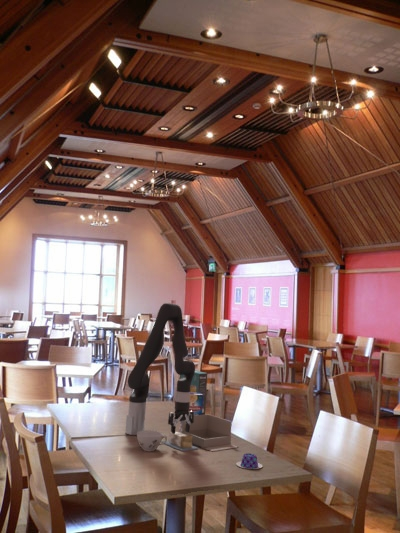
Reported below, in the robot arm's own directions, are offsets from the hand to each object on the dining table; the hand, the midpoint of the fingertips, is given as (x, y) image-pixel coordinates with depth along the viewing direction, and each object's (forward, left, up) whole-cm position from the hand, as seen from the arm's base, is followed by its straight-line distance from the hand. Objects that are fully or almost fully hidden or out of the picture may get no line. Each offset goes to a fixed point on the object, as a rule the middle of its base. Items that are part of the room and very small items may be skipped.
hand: (180, 432), depth 283 cm
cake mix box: (+44, +49, -7) cm, 66 cm away
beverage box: (+21, +19, -7) cm, 30 cm away
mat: (0, 0, -7) cm, 7 cm away
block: (+1, 0, -6) cm, 6 cm away
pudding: (+9, -42, -7) cm, 43 cm away
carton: (+17, -3, -7) cm, 19 cm away
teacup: (-17, 0, -7) cm, 18 cm away
